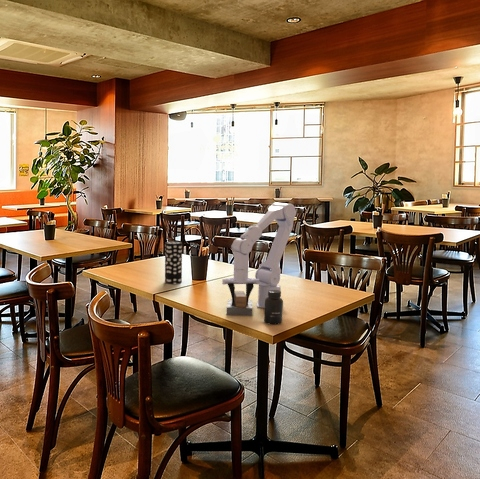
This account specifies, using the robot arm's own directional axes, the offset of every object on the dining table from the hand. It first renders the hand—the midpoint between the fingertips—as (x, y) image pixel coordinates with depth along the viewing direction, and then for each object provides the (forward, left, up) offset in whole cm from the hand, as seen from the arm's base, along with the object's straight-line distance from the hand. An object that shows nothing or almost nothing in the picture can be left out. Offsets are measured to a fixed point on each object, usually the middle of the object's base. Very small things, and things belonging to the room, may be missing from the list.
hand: (240, 301), depth 188 cm
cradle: (0, 0, -4) cm, 4 cm away
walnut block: (0, 0, -3) cm, 3 cm away
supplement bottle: (-13, +13, -4) cm, 19 cm away
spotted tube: (+35, -45, -4) cm, 57 cm away
